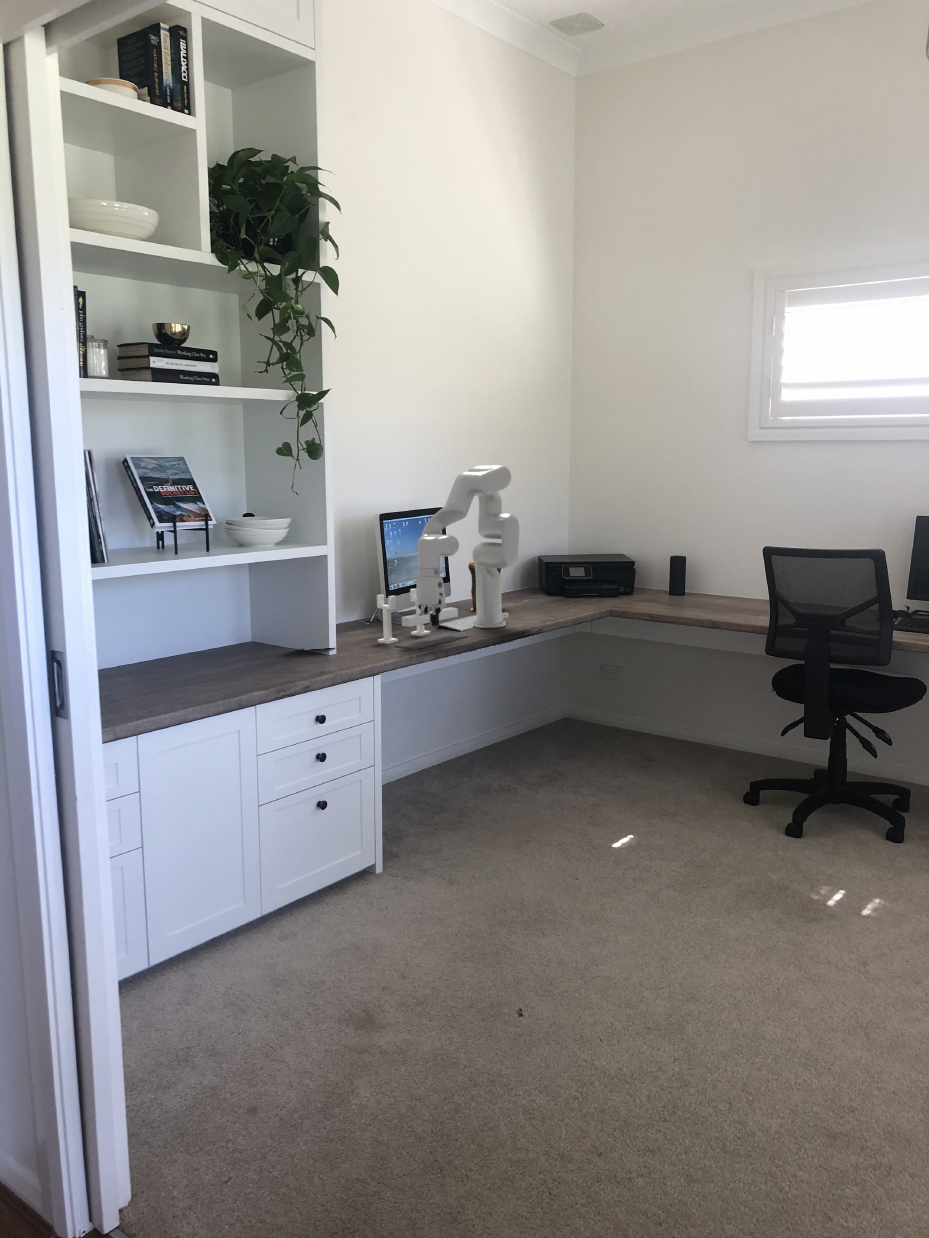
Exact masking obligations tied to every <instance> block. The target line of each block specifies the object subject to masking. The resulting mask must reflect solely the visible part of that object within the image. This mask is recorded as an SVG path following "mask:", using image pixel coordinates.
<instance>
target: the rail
mask: <svg viewBox="0 0 929 1238" xmlns="http://www.w3.org/2000/svg"><path fill="white" fill-rule="evenodd" d="M458 609H459V608H458V607H451V606H450V607H445V608H444V609H442V611H441V612H440V614H439V621H443V620H447V619H452V618H456V617H457V618H458V616H459V611H458ZM432 615H433V612H432V610H431V611H430V610H429V611H428V612H425V613H420V614H416V613H414V614H412V615H411V614H409V615H405V616H402V617H401V626H402V627H414V626H416V627H417V625H420V624H425V623H430V624H431V623H432Z"/></svg>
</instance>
